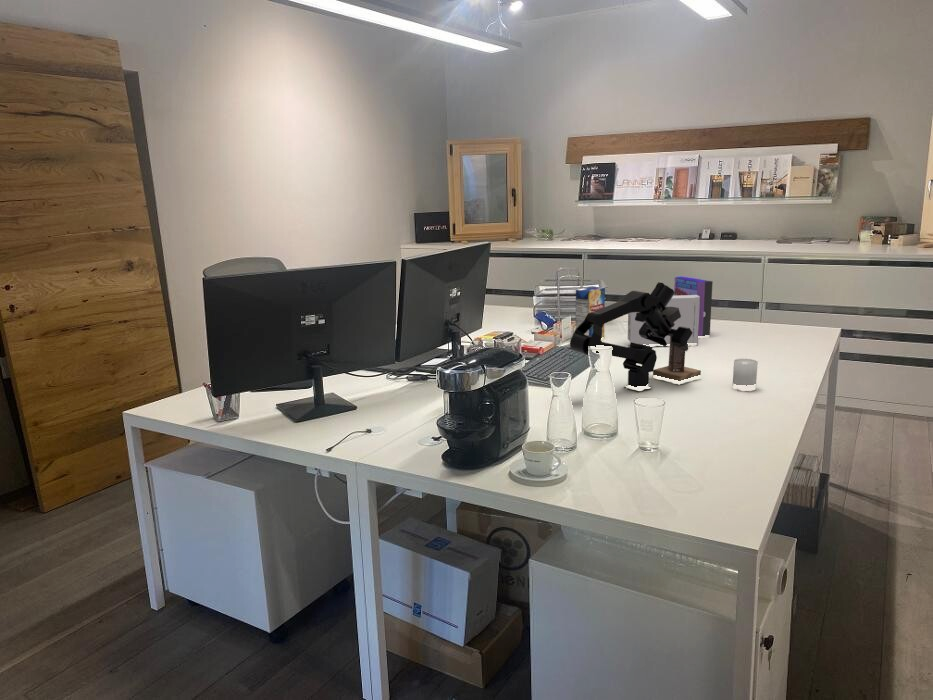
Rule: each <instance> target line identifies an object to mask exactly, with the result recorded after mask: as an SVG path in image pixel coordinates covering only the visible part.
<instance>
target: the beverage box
mask: <svg viewBox="0 0 933 700" xmlns="http://www.w3.org/2000/svg"><path fill="white" fill-rule="evenodd" d="M605 297H606V287H599V286H588V287H584V288H578V289H575V329H576V328H577V327H578V326H579V325H580V324H581V323H582V322H583V321H584V320H585V318H586V316H587V314H588V313H591V312H595V311H597V310H599V309H602V308H604V307H606V305H605V304H606V298H605ZM592 334H593V326H592V327H591V328H590V329H589V330H588V331H587V332H586V333H585V334H584V335H588V336H592ZM602 337H604V338H605V324H604V325H603V327H602Z"/></svg>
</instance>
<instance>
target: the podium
mask: <svg viewBox="0 0 933 700" xmlns="http://www.w3.org/2000/svg"><path fill="white" fill-rule="evenodd" d="M668 366H669V365H666V366H663V367H659V368H654V370H653V372H652V376H653V375H657V376H661V377H665V378H669V379H674V380H678V381H681V380H684V379H688V378H691V377H694V376H698V375H701V376H702V374H701V373H702V371H701V369H695V368H692V367H687V366H684V372H678V373H677V372H671V371H670V369H669V368H668Z"/></svg>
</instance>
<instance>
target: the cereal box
mask: <svg viewBox="0 0 933 700" xmlns="http://www.w3.org/2000/svg"><path fill="white" fill-rule="evenodd" d="M673 281H674V283H673V284H674V285H673V290H674V292H675V294H674V295H673V296H679V295H698V296H700V305H699V306H700V307H699V328H698V336H705V335H710V336H711V317H712V301H713V283H714V282H713V280H706V279H701V278H699V279H698V278H694V277H687V276H675V277H674V280H673Z"/></svg>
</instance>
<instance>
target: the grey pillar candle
mask: <svg viewBox="0 0 933 700" xmlns="http://www.w3.org/2000/svg"><path fill="white" fill-rule="evenodd" d="M732 371H733V372H732V384H733V383H734V384H736V385H746V386H747V385H754V384H756V385H757V379H758V378H757V377H758V375H757V374H758V360H755V359H752V358H736V359H734V360H733V370H732Z"/></svg>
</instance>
